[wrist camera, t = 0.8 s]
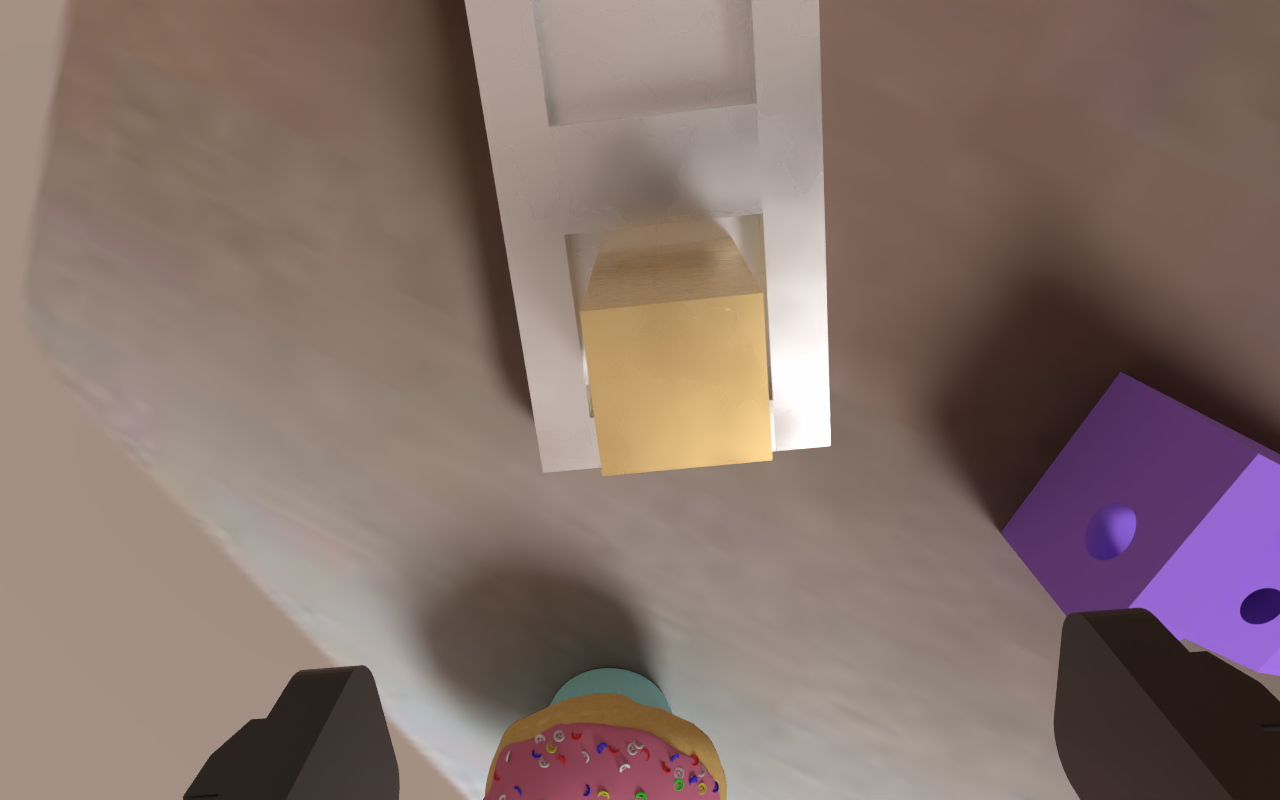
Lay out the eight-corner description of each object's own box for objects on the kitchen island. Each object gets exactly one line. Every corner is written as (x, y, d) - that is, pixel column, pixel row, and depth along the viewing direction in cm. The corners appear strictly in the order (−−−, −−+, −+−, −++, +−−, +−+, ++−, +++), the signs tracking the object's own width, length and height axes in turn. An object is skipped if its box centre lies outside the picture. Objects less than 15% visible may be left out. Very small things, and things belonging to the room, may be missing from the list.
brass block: (732, 238, 24) (763, 293, 18) (740, 365, 25) (772, 460, 19) (598, 252, 24) (579, 311, 18) (614, 377, 26) (602, 475, 19)
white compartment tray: (777, -643, 18) (798, -759, 16) (814, 413, 28) (830, 445, 25) (381, -581, 19) (341, -684, 16) (547, 439, 28) (536, 473, 26)
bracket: (996, 528, 30) (1093, 649, 23) (1115, 368, 27) (1258, 453, 21) (1254, 649, 31) (1411, 793, 25) (1385, 508, 29) (1594, 626, 23)
